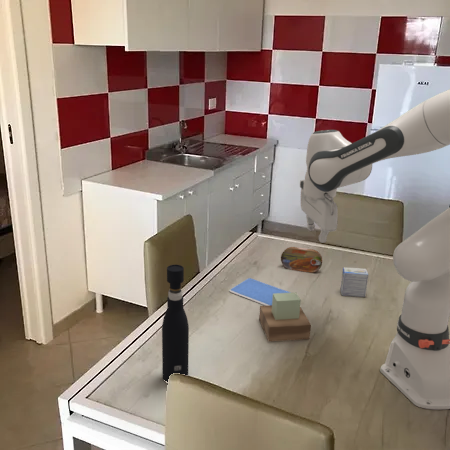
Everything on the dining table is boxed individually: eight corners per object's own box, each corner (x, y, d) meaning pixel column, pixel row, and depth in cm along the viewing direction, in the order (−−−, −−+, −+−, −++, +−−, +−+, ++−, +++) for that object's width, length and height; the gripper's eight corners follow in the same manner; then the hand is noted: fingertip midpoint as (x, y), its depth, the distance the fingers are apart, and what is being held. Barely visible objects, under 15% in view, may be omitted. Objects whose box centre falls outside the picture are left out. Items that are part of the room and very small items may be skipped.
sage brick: (299, 318, 149) (300, 299, 146) (275, 319, 147) (276, 301, 145) (294, 310, 153) (296, 292, 151) (271, 311, 152) (272, 293, 149)
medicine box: (363, 291, 176) (366, 268, 172) (365, 297, 171) (368, 274, 168) (339, 289, 176) (342, 266, 173) (341, 296, 172) (344, 272, 169)
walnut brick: (309, 340, 147) (311, 324, 145) (268, 342, 145) (269, 327, 144) (297, 318, 158) (298, 303, 157) (259, 320, 156) (260, 305, 155)
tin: (279, 268, 191) (281, 247, 188) (281, 264, 194) (283, 244, 191) (320, 274, 187) (323, 253, 184) (321, 271, 190) (324, 250, 187)
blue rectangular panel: (297, 297, 171) (297, 293, 171) (277, 312, 162) (278, 308, 161) (248, 280, 182) (249, 277, 181) (227, 293, 172) (228, 289, 172)
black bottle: (175, 366, 133) (175, 259, 123) (193, 376, 129) (195, 267, 119) (157, 377, 128) (155, 268, 118) (175, 388, 125) (175, 276, 114)
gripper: (346, 199, 133) (341, 248, 138) (318, 179, 152) (314, 223, 157) (322, 199, 132) (318, 250, 137) (297, 179, 151) (294, 224, 156)
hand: (316, 235), depth 147 cm, fingers open, 8 cm apart
